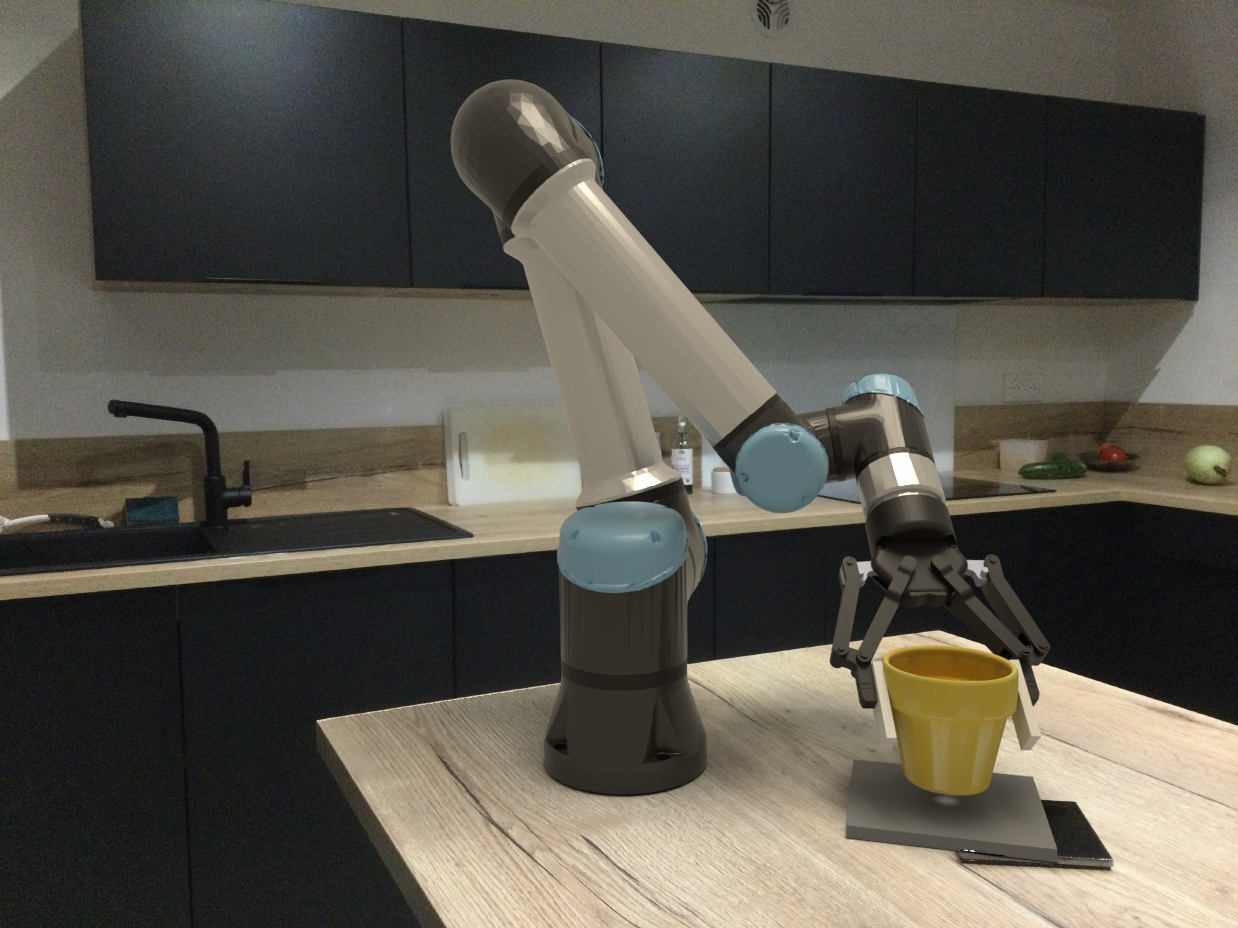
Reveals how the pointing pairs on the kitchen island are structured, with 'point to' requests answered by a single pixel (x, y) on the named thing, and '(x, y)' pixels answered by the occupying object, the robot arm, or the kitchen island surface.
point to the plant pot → (949, 714)
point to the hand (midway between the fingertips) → (959, 744)
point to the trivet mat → (949, 814)
